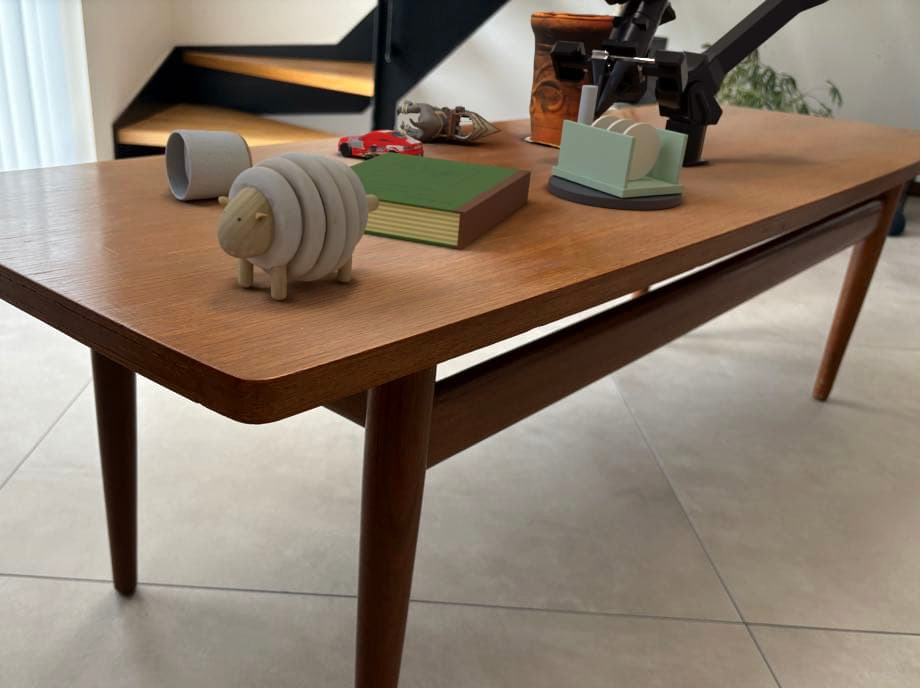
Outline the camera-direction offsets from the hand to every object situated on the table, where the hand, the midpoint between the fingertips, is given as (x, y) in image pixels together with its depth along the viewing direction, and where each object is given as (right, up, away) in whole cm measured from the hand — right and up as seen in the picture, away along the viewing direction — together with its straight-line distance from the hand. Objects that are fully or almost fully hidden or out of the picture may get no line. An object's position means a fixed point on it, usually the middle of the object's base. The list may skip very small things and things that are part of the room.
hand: (596, 115), depth 122 cm
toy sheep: (-37, -30, -46) cm, 66 cm away
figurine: (-19, +3, +23) cm, 30 cm away
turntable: (0, -13, -7) cm, 14 cm away
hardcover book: (-25, -18, -20) cm, 37 cm away
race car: (-30, -4, +7) cm, 31 cm away
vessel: (0, +4, +28) cm, 28 cm away
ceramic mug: (-51, -16, -19) cm, 56 cm away
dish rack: (0, -11, -7) cm, 13 cm away
